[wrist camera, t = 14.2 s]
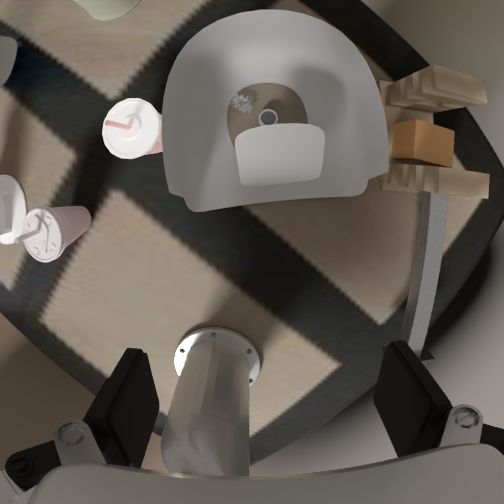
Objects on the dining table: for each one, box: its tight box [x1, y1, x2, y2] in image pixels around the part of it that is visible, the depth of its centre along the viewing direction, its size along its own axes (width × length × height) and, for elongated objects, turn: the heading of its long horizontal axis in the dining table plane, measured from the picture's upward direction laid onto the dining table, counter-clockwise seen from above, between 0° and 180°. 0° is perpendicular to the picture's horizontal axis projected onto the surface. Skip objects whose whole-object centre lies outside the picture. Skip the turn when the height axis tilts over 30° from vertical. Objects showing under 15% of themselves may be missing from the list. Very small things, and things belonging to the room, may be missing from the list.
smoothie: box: [14, 206, 91, 262], centre depth 31 cm, size 6×6×14 cm
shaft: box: [382, 190, 448, 365], centre depth 33 cm, size 22×6×5 cm, turn 1°
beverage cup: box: [102, 98, 163, 159], centre depth 28 cm, size 6×6×14 cm
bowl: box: [162, 10, 389, 212], centre depth 29 cm, size 20×19×12 cm
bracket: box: [378, 64, 489, 199], centre depth 29 cm, size 14×8×13 cm, turn 1°
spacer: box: [391, 119, 454, 168], centre depth 31 cm, size 4×6×6 cm
